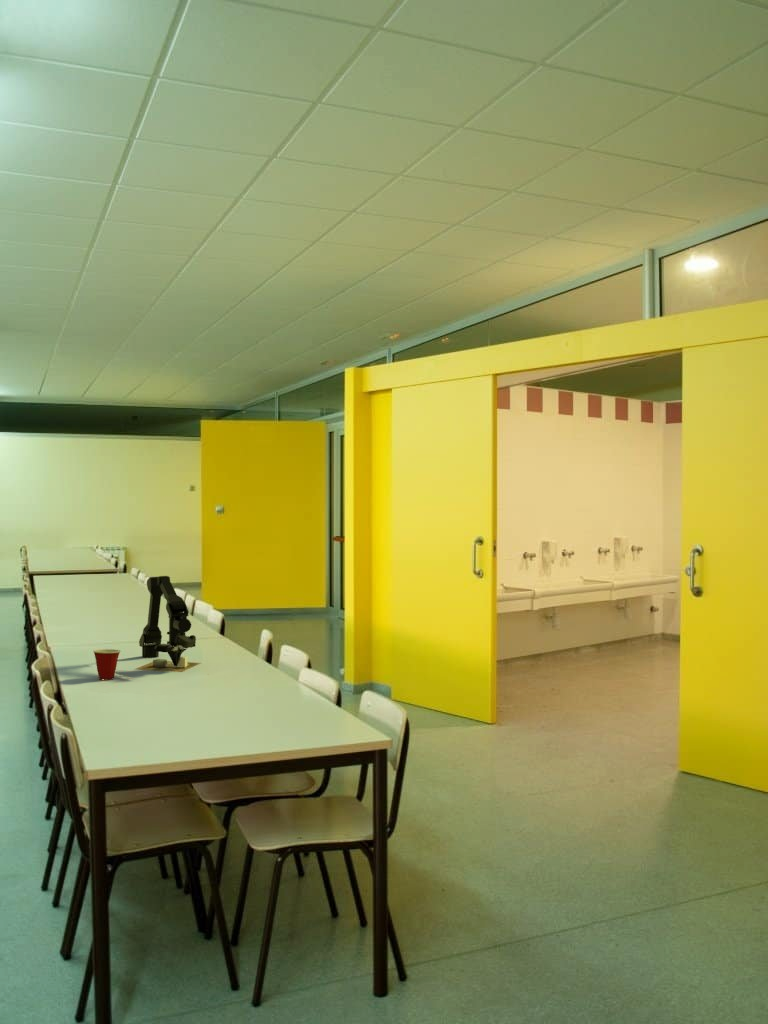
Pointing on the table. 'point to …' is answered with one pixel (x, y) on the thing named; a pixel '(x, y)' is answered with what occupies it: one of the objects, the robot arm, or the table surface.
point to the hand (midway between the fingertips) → (175, 665)
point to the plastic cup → (106, 662)
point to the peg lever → (164, 663)
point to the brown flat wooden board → (174, 669)
